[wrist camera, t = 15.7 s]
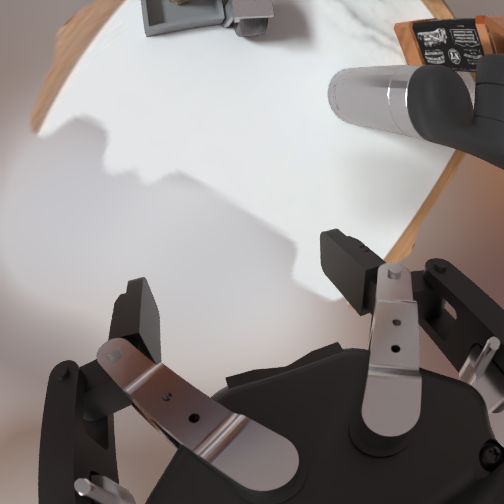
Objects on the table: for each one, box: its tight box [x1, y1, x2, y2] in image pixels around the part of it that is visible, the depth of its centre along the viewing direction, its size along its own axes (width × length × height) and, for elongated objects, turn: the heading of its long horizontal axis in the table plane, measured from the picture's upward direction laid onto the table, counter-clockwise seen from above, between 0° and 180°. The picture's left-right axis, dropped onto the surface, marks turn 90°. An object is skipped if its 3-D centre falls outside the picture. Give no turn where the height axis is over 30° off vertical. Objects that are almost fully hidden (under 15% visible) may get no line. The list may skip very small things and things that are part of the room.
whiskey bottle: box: [394, 16, 504, 72], centre depth 23 cm, size 10×10×32 cm
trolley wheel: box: [223, 0, 274, 37], centre depth 26 cm, size 5×9×10 cm, turn 9°
